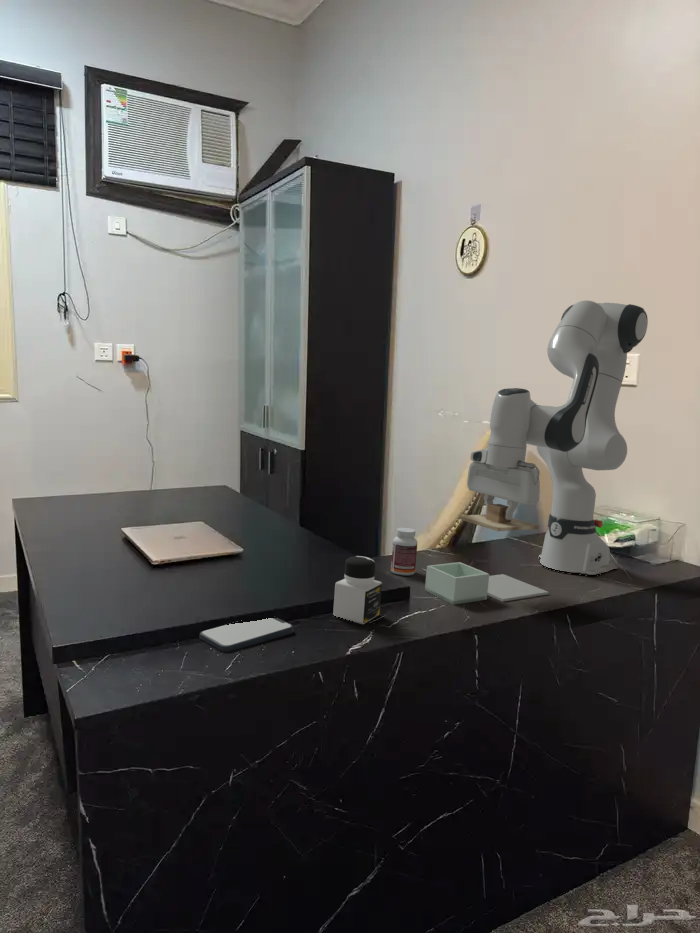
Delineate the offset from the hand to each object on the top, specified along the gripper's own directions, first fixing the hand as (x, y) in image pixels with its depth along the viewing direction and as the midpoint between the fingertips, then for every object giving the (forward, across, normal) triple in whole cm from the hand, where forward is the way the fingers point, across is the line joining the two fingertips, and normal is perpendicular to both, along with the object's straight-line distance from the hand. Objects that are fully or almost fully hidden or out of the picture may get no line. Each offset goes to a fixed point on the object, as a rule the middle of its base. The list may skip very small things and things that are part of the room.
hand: (498, 516), depth 159 cm
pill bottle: (+18, +19, +11) cm, 29 cm away
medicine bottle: (+19, -2, +40) cm, 44 cm away
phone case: (+20, -3, +64) cm, 67 cm away
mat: (+18, 0, -4) cm, 18 cm away
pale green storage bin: (+18, 0, +10) cm, 21 cm away
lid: (+2, 0, 0) cm, 2 cm away
